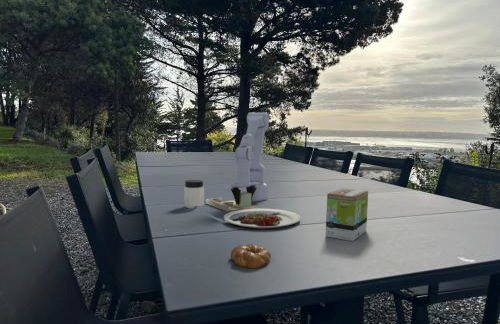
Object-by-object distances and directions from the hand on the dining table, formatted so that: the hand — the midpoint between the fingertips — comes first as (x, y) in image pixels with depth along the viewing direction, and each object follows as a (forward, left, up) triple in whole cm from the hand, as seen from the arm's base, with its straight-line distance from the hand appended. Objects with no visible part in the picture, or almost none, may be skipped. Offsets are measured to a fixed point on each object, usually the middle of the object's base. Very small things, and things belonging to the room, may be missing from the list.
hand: (243, 203), depth 169 cm
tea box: (-8, +55, -2) cm, 56 cm away
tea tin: (0, 0, -1) cm, 1 cm away
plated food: (+6, +24, -3) cm, 25 cm away
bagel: (+34, +60, -3) cm, 69 cm away
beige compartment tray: (+4, -4, -2) cm, 6 cm away
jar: (+18, -14, -2) cm, 23 cm away
